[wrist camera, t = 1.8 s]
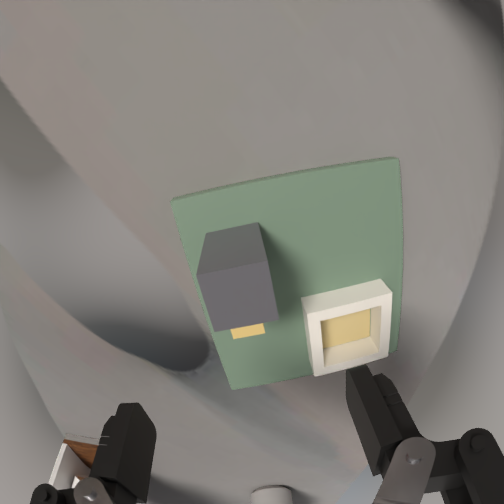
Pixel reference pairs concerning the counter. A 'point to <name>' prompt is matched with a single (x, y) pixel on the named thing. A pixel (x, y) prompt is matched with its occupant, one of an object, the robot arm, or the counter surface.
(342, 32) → the counter surface
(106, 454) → the robot arm
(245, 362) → the board
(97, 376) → the counter surface
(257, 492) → the can
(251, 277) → the plug
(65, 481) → the white tall box
